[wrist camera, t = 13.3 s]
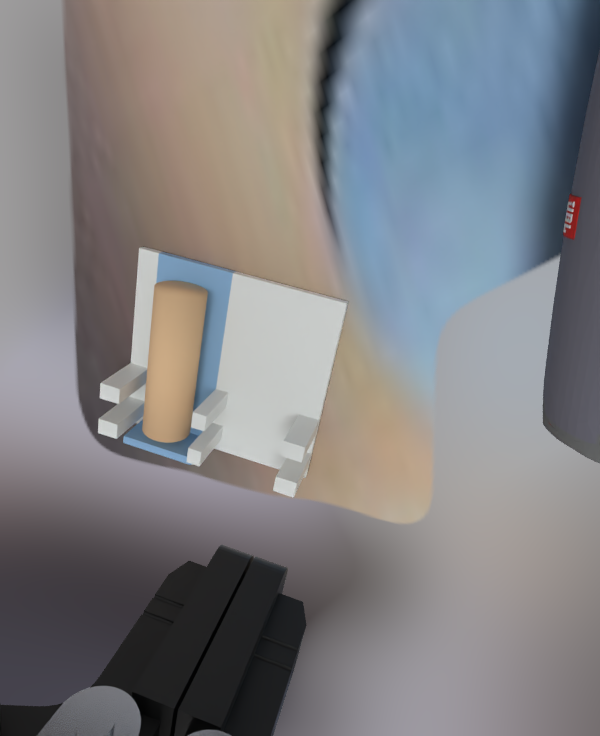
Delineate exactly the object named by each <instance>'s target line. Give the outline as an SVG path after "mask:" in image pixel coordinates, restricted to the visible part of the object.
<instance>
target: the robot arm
mask: <svg viewBox="0 0 600 736" xmlns="http://www.w3.org/2000/svg"><path fill="white" fill-rule="evenodd" d="M287 571H288V568H286V567H284V566H281V565H278V564H275V563H272V562H269V561H267V560H264V559H261V558H258V557H255V558H254V557H253V556H252V555H249V554H246V553H244V552H241V551H238V550H235V549H232V548H229V547H227V546H224V545H221V546H220V547H219V548H218V549H217V551H216V553H215V554H214V556H213V557H212V559H211V561H210V563H209V564H208V566H207V567H205V566H202V565H200V564H197V563H194V562H191V561H188V562H187V563H185V564H184V565H182V566H181V567H179V568H178V569H176V570H175V571H173V572H172V573H170V574H169V575H168V576H167V578H166V579H165V581H164V582H163V584H162V585H161V587H160V588H159V590H158V591H157V592H156V594H155V597H154V598H152V600H151V601H150V603H149V604H148V606H147V607H146V609H145V610H144V613H143V615H141V616H140V618H139V619H138V621H137V622H136V624H135V625H134V627H133V628H132V629H131V631H130V633H129V634H128V635H127V637H126V638H125V640H124V641H123V643H122V644H121V646H120V647H119V649H118V650H117V652H116V653H115V655H114V656H113V658H112V659H111V661H110V662H109V664H108V665H107V667H106V668H105V669H104V671H103V672H102V674H101V675H100V677H99V678H98V679H97V681H96V682H95V683H94V684H93V685H92V686H91V687H90V688H87V689H84V690H82V691H80V692H78V693H76V694H75V695H73V696H71V697H70V698H69V699H68V700H66V701H65V702H64V703H61V704H58V705H52V706H40V707H39V706H14V705H0V736H273V735H274V731H275V728H276V725H277V721H278V719H279V716H280V712H281V709H282V706H283V703H284V700H285V697H286V693H287V690H288V687H289V684H290V681H291V678H292V674H293V671H294V667H295V664H296V660H297V656H298V653H299V649H300V646H301V642H302V639H303V635H304V632H305V628H306V620H305V613H304V606H303V602H302V601H299V600H296V599H293V598H291V597H288V596H285V595H283V594H282V592H283V588H284V584H285V580H286V575H287Z"/></svg>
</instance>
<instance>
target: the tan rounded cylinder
mask: <svg viewBox="0 0 600 736" xmlns="http://www.w3.org/2000/svg"><path fill="white" fill-rule="evenodd" d="M207 296H208V292H207V290H206V289H205V288H203V287H201V286H199V285H196V284H193V283H189V282H183V281H162V282H158V283H156V284H155V285H154V295H153V307H152V319H151V331H150V343H149V354H148V366H147V378H146V390H145V401H144V413H143V425H142V431H143V433H144V434H145V435H146V436H147V437H148V438H150V439H152V440H155V441H158V442H165V443H172V442H178V441H181V440H184V439H185V438H187V437H188V436H189V434H190V430H191V422H192V414H193V406H194V398H195V391H196V383H197V375H198V367H199V359H200V351H201V343H202V335H203V327H204V320H205V312H206V304H207Z"/></svg>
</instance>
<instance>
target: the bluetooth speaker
mask: <svg viewBox="0 0 600 736" xmlns="http://www.w3.org/2000/svg"><path fill="white" fill-rule="evenodd" d="M563 235H564V237H563V244H562V250H561V257H560V264H559V271H558V278H557V285H556V292H555V298H554V306H553V314H552V321H551V329H550V337H549V345H548V353H547V361H546V369H545V378H544V392H543V424H544V426H545V427H546V429H547V430H548V431H549V432H551V434H553V435H554V436H555V437H556V438H557V439H558V440H560V441H561V442H563V443H564V444H566V445H567V446H569V447H571V448H573V449H574V450H576V451H577V452H579V453H580V454H582V455H584V456H585V457H587V458H589V459H591V460H594V461H595V462H598V463H600V49H599V54H598V59H597V64H596V68H595V73H594V78H593V83H592V87H591V92H590V97H589V102H588V106H587V111H586V116H585V121H584V126H583V132H582V137H581V142H580V147H579V153H578V158H577V163H576V169H575V174H574V180H573V185H572V191H571V194H570V195H569V201H568V205H567V212H566V218H565V224H564V230H563Z"/></svg>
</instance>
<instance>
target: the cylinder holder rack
mask: <svg viewBox="0 0 600 736" xmlns="http://www.w3.org/2000/svg"><path fill="white" fill-rule="evenodd" d="M162 281H183V282H189V283H193V284H196V285H199V286H201V287H203V288H205V289H206V290H207V292H208V296H207V304H206V312H205V320H204V327H203V335H202V343H201V351H200V359H199V367H198V375H197V383H196V391H195V398H194V406H193V414H192V422H191V430H190V434H189V436H188V437H187V438H185V439H184V440H181V441H178V442H172V443H165V442H158V441H155V440H152V439H150V438H148V437H147V436H146V435H145V434H144V433H143V431H142V425H143V413H144V401H145V390H146V378H147V366H148V354H149V343H150V331H151V319H152V307H153V295H154V285H155V284H156V283H158V282H162ZM348 302H349V301H345V300H342V299H338V298H334V297H330V296H327V295H323V294H319V293H315V292H312V291H308V290H304V289H300V288H297V287H293V286H289V285H285V284H282V283H278V282H274V281H271V280H267V279H263V278H259V277H256V276H252V275H248V274H244V273H241V272H237V271H233V270H229V269H226V268H222V267H218V266H214V265H211V264H207V263H203V262H199V261H196V260H192V259H188V258H185V257H181V256H177V255H173V254H170V253H166V252H162V251H158V250H155V249H151V248H147V247H141V248H139V258H138V272H137V285H136V299H135V313H134V326H133V340H132V353H131V363H130V364H128V365H127V366H125V367H124V368H122V369H121V370H119V371H118V372H116V373H115V374H113V375H112V376H110V377H109V378H107V379H106V380H104V381H103V382H101V383H100V398H101V399H104V400H107V401H110V402H114V403H117V405H116V406H115V407H113V408H112V409H111V410H109V411H108V412H107V413H106V414H104V415H103V416H102V417H100V418H99V424H98V433H100V434H103V435H106V436H109V437H112V438H115V439H117V438H118V437H119V436H121V435H122V434H123V433H124V432H125V431H126V430H128V429H129V428H130V427H131V426H132V425H133V424H135V423H137V425H136V426H135V427H133V428H132V429H131V430H130V431H129V432H128V433H127V434H125V435H124V440H123V443H126V444H129V445H132V446H135V447H138V448H141V449H144V450H147V451H150V452H153V453H156V454H159V455H162V456H165V457H168V458H171V459H174V460H177V461H180V462H183V463H186V464H189V465H192V464H194V465H197V466H200V465H201V464H202V463H203V461H204V460H205V459H206V458H207V456H208V455H209V454H210V453H211V451H212V450H213V449H217V450H220V451H223V452H227V453H230V454H233V455H236V456H239V457H242V458H245V459H248V460H251V461H254V462H257V463H260V464H264V465H267V466H270V467H273V468H276V469H279V472H278V474H277V476H276V479H275V484H274V488H273V491H275V492H278V493H281V494H284V495H287V496H290V497H293V498H294V496H295V494H296V492H297V489H298V487H299V485H300V483H301V481H302V479H303V477H304V478H306V476H307V473H308V469H309V465H310V461H311V457H312V452H313V448H314V444H315V440H316V436H317V432H318V427H319V423H320V419H321V415H322V411H323V407H324V402H325V398H326V394H327V390H328V386H329V381H330V377H331V373H332V369H333V365H334V361H335V356H336V352H337V348H338V344H339V340H340V336H341V331H342V327H343V323H344V319H345V315H346V311H347V306H348Z"/></svg>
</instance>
